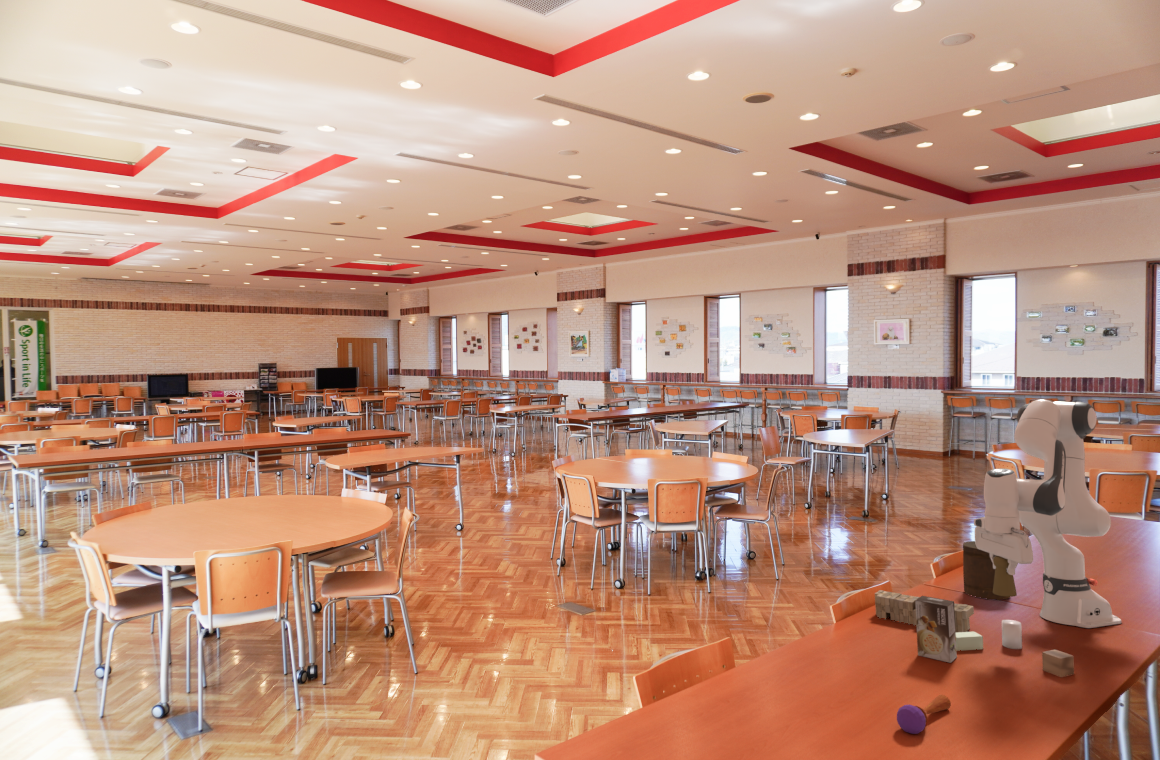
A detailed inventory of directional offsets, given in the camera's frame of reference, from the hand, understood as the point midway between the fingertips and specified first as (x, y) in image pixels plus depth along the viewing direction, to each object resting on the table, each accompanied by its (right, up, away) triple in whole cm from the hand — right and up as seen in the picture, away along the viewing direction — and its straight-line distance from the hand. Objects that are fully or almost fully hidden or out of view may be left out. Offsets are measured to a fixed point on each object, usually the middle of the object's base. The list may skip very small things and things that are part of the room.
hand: (1003, 571), depth 202 cm
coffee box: (-21, -24, -3) cm, 32 cm away
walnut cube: (+5, -23, -16) cm, 28 cm away
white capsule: (+4, -23, +3) cm, 24 cm away
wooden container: (+26, -23, +53) cm, 64 cm away
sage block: (-10, -24, +3) cm, 26 cm away
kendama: (-44, -24, -41) cm, 64 cm away
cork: (0, -7, 0) cm, 7 cm away
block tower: (-12, -24, +24) cm, 36 cm away
